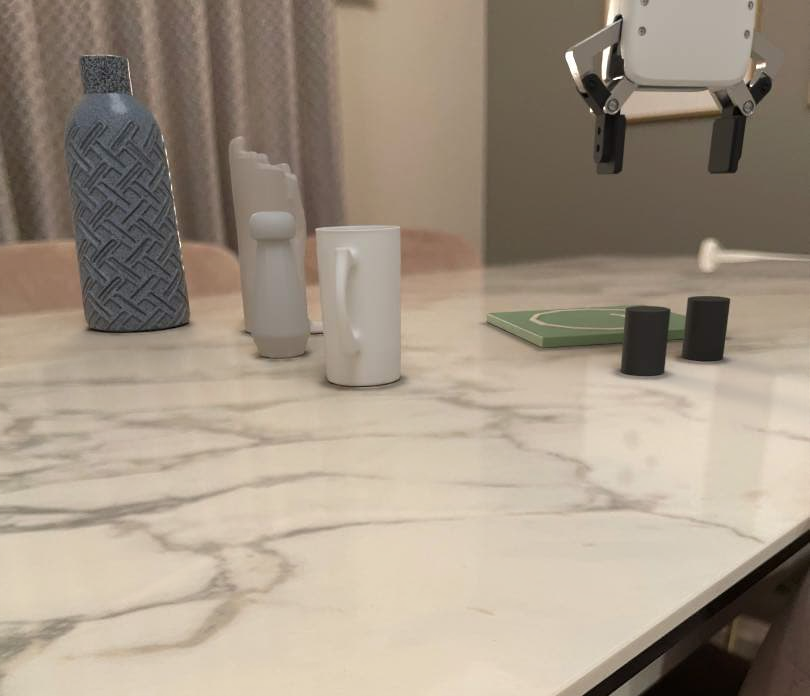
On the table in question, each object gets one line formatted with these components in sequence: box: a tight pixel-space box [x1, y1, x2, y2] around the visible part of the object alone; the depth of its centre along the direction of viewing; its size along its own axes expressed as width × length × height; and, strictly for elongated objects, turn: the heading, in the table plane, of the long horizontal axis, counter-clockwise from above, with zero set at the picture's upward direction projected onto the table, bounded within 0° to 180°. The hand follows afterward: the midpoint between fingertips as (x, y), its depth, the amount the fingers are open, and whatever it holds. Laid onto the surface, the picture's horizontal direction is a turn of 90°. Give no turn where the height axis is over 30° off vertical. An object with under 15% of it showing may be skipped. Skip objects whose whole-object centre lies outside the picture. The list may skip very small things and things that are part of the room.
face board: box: [486, 304, 686, 349], centre depth 93 cm, size 20×18×1 cm
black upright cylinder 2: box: [681, 295, 731, 362], centre depth 76 cm, size 4×4×5 cm
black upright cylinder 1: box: [620, 305, 671, 377], centre depth 71 cm, size 4×4×5 cm
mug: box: [315, 225, 402, 387], centre depth 68 cm, size 10×7×12 cm, turn 169°
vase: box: [63, 54, 191, 333], centre depth 97 cm, size 12×12×28 cm
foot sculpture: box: [228, 135, 323, 334], centre depth 93 cm, size 7×14×20 cm, turn 88°
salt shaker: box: [249, 211, 311, 359], centre depth 80 cm, size 6×6×13 cm
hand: (666, 173), depth 66 cm, fingers open, 9 cm apart
